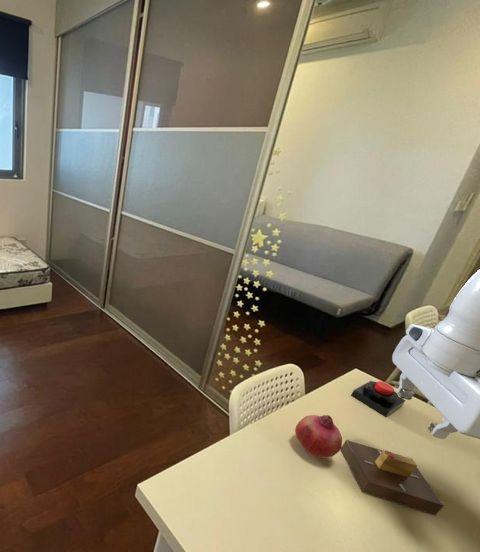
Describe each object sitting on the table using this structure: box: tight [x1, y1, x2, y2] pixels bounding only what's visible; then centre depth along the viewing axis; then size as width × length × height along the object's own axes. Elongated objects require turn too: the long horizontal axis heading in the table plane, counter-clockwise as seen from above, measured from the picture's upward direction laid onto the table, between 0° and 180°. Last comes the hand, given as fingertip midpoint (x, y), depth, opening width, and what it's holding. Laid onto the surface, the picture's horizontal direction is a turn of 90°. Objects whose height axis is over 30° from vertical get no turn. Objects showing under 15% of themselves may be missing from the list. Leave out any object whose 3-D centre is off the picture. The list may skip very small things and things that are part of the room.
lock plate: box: [340, 439, 445, 516], centre depth 65 cm, size 12×10×3 cm
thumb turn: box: [375, 449, 418, 477], centre depth 64 cm, size 5×2×4 cm, turn 73°
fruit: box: [294, 414, 343, 459], centre depth 68 cm, size 8×8×10 cm
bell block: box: [350, 380, 407, 418], centre depth 87 cm, size 10×8×4 cm
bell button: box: [374, 380, 395, 396], centre depth 86 cm, size 4×4×2 cm
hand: (417, 414), depth 59 cm, fingers open, 8 cm apart
